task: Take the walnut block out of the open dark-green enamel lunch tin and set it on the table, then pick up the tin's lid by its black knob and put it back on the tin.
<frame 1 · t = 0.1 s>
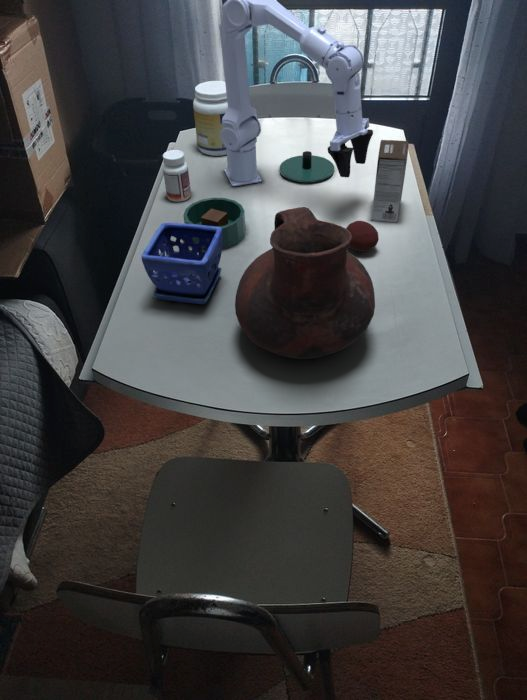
hand: (352, 169, 138), 11 cm above the table, tool pointing down, fingers open, 7 cm apart
pill bottle: (179, 197, 152), on the table
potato: (358, 248, 133), on the table
tin lid: (306, 169, 160), point 1 cm above the table
block: (215, 231, 139), resting on tin
supplement tub: (219, 148, 172), on the table
flower pot: (189, 290, 124), on the table
tin: (216, 233, 139), on the table
coffee box: (385, 212, 144), on the table
jug: (303, 333, 113), on the table
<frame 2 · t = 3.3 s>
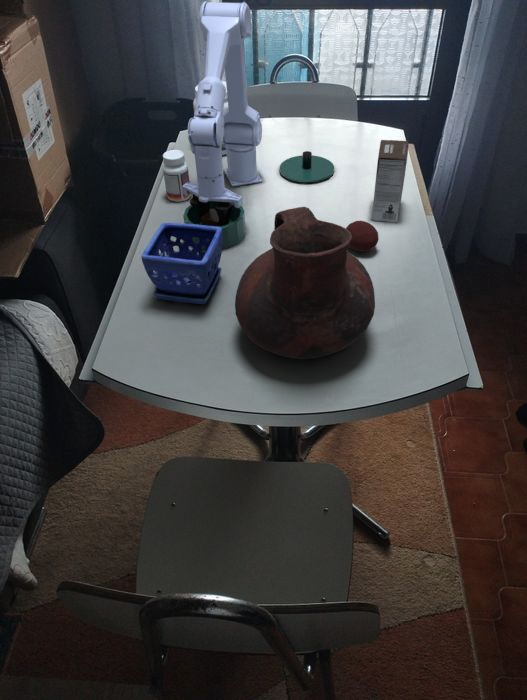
hand: (215, 227, 138), 2 cm above the table, tool pointing down, fingers closed on block, 4 cm apart
block: (215, 231, 139), point 1 cm above the table, touching gripper, tin
everything else where it was.
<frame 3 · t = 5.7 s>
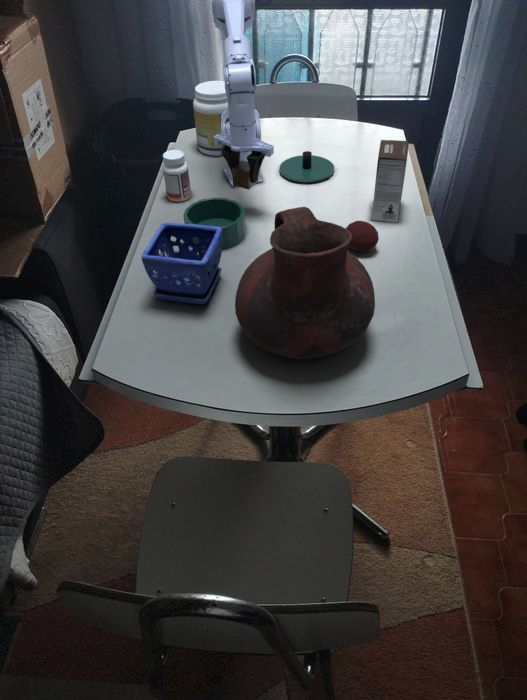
hand: (245, 178, 141), 8 cm above the table, tool pointing down, fingers closed on block, 4 cm apart
block: (245, 183, 141), point 7 cm above the table, touching gripper
everything else where it was.
when the fingers open (1 cm above the table, at t = 8.0 s): block stays where it is, on the table.
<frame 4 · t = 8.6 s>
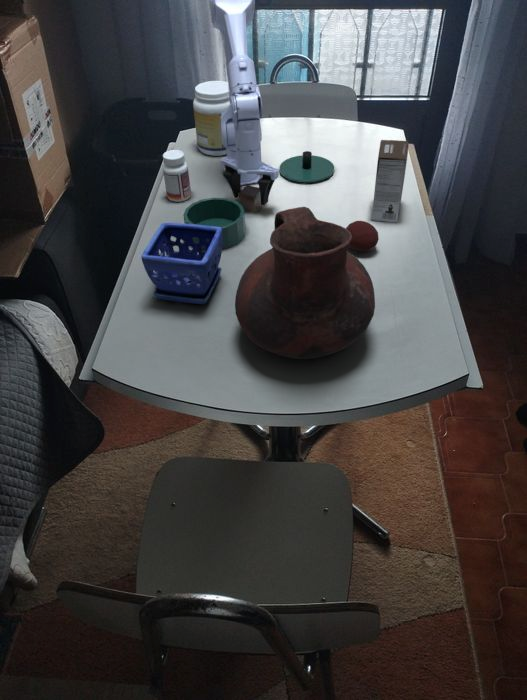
hand: (250, 199, 146), 2 cm above the table, tool pointing down, fingers open, 7 cm apart
block: (251, 206, 147), on the table
everything else where it was.
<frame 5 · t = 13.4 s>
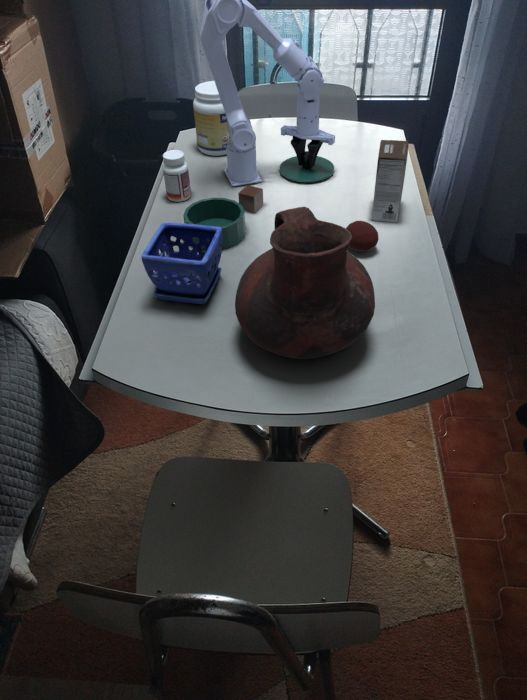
hand: (306, 165, 159), 2 cm above the table, tool pointing down, fingers closed on tin lid, 2 cm apart
tin lid: (306, 169, 160), point 1 cm above the table, touching gripper
everything else where it was.
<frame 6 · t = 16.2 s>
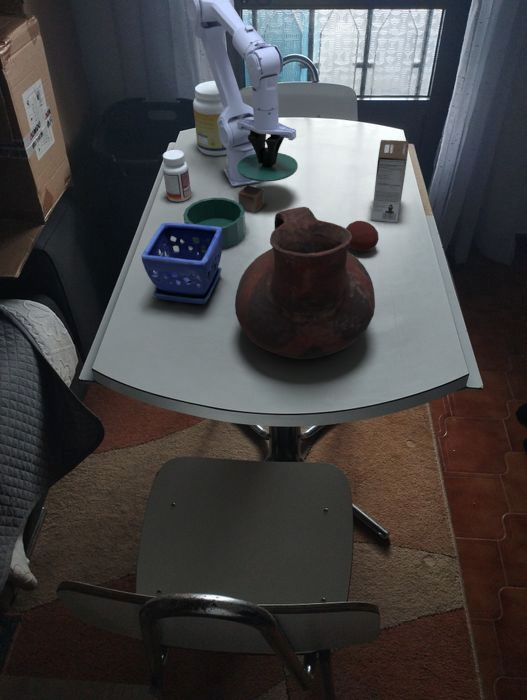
hand: (267, 163, 144), 9 cm above the table, tool pointing down, fingers closed on tin lid, 2 cm apart
tin lid: (267, 167, 144), point 8 cm above the table, touching gripper
everything else where it was.
when the fingers open (7 cm above the table, at t = 19.0 s): tin lid stays where it is, resting on tin.
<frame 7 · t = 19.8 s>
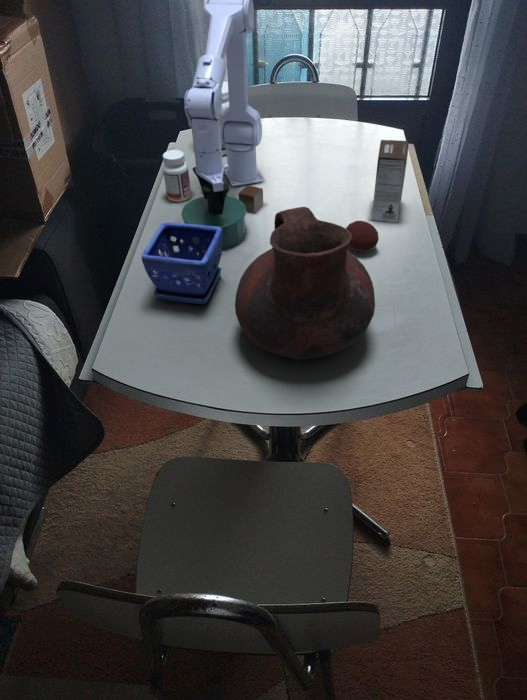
hand: (213, 205, 134), 7 cm above the table, tool pointing down, fingers open, 7 cm apart
tin lid: (214, 212, 135), point 5 cm above the table, touching tin
everything else where it was.
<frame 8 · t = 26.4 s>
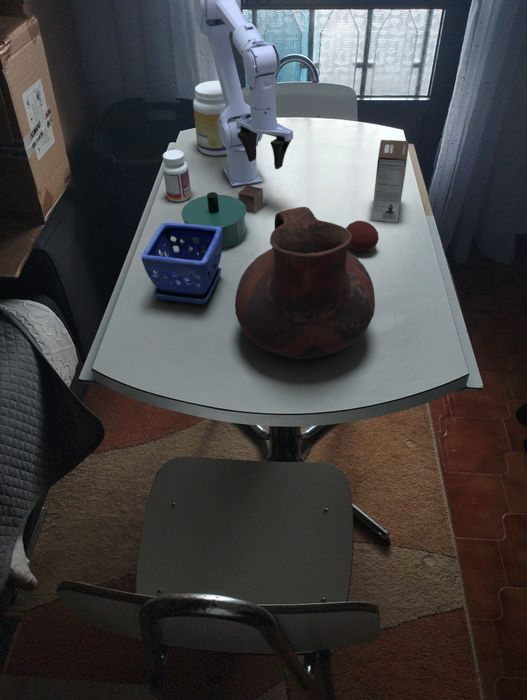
hand: (265, 163, 141), 10 cm above the table, tool pointing down, fingers open, 7 cm apart
nothing on the table moved.
at the end: block inside the target area (0.1 cm from its centre), on the table; tin lid 0.0 cm off-centre on the tin, point 5.5 cm above the tin's base; tin lid tilted 0° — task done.
